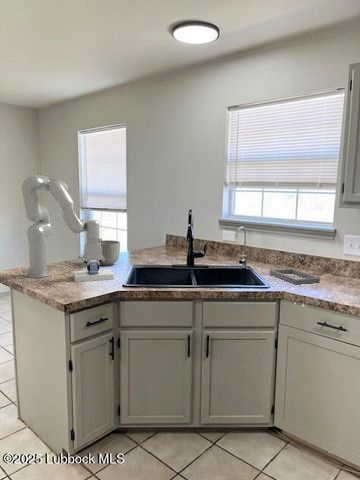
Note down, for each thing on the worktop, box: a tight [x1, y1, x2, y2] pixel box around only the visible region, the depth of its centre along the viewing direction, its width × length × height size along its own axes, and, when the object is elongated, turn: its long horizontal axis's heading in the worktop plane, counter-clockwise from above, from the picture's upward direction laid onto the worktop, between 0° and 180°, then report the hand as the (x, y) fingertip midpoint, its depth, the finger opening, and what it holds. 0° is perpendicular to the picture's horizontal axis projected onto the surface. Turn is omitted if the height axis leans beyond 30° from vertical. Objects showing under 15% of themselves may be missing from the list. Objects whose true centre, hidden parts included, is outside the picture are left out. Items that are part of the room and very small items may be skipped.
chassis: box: [73, 269, 115, 283], centre depth 218 cm, size 22×13×3 cm, turn 110°
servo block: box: [89, 262, 98, 275], centre depth 218 cm, size 11×4×7 cm, turn 20°
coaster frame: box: [269, 268, 321, 285], centre depth 225 cm, size 17×26×4 cm, turn 20°
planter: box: [99, 239, 121, 267], centre depth 254 cm, size 17×17×16 cm
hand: (93, 270), depth 218 cm, fingers closed on servo block, 4 cm apart
